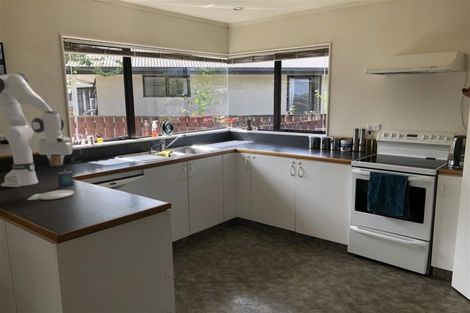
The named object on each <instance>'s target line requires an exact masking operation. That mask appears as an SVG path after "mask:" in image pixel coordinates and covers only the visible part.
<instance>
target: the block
mask: <svg viewBox="0 0 470 313" xmlns="http://www.w3.org/2000/svg"><path fill="white" fill-rule="evenodd" d="M60 158H61V157H60V155H54V156H53V155H52V156H51V157H49V159H48V160H50V162H49V166H50V167H51V166H52V167H54V166H55V167H56V166H57V167H59V166H61V165H64V161H63V162H59V159H60Z"/></svg>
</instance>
